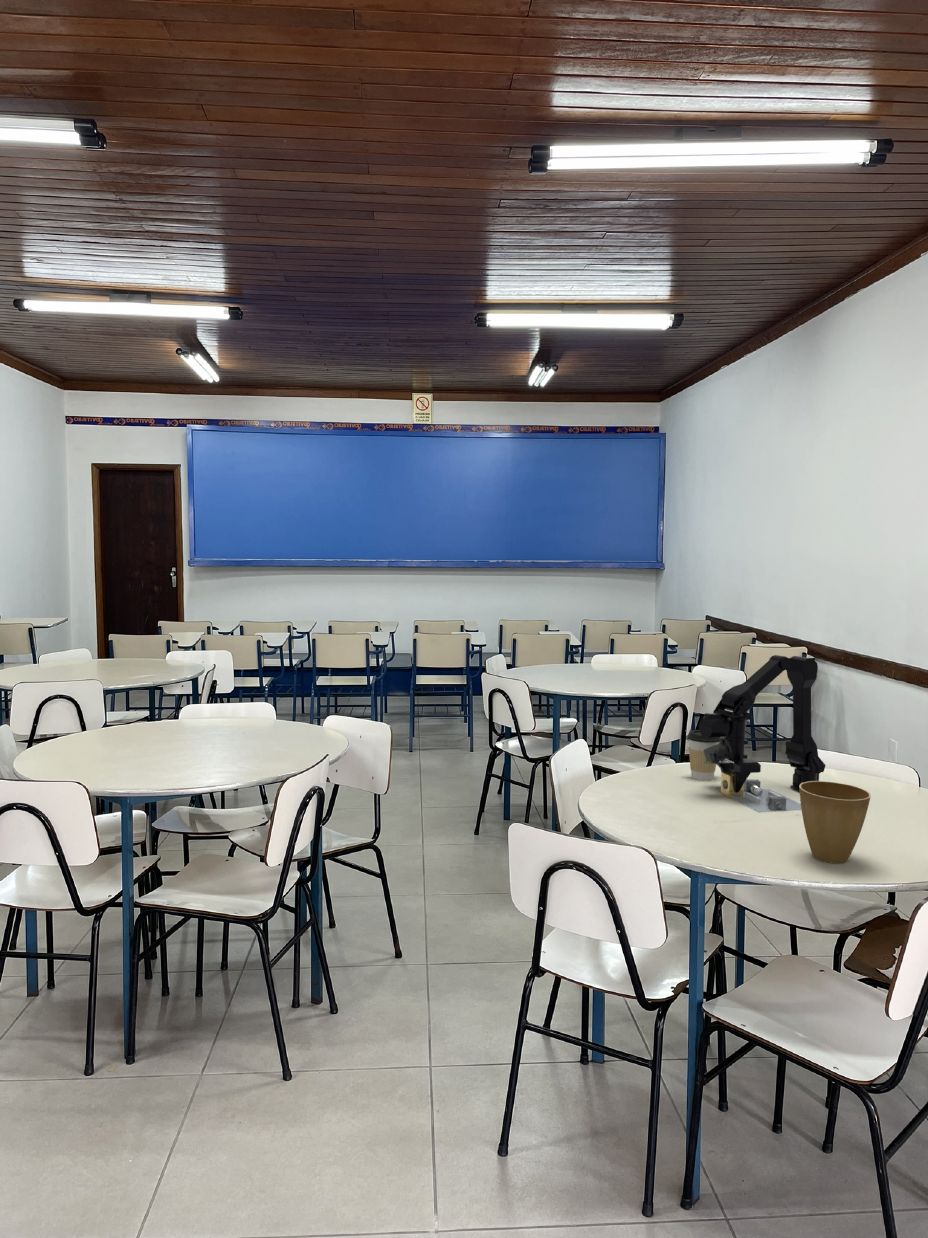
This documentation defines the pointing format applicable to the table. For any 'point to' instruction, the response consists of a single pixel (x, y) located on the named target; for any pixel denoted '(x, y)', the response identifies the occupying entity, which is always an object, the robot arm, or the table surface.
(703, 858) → the table surface
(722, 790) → the block
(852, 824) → the plant pot
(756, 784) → the shaft
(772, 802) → the shaft
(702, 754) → the coffee cup
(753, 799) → the grey base plate
